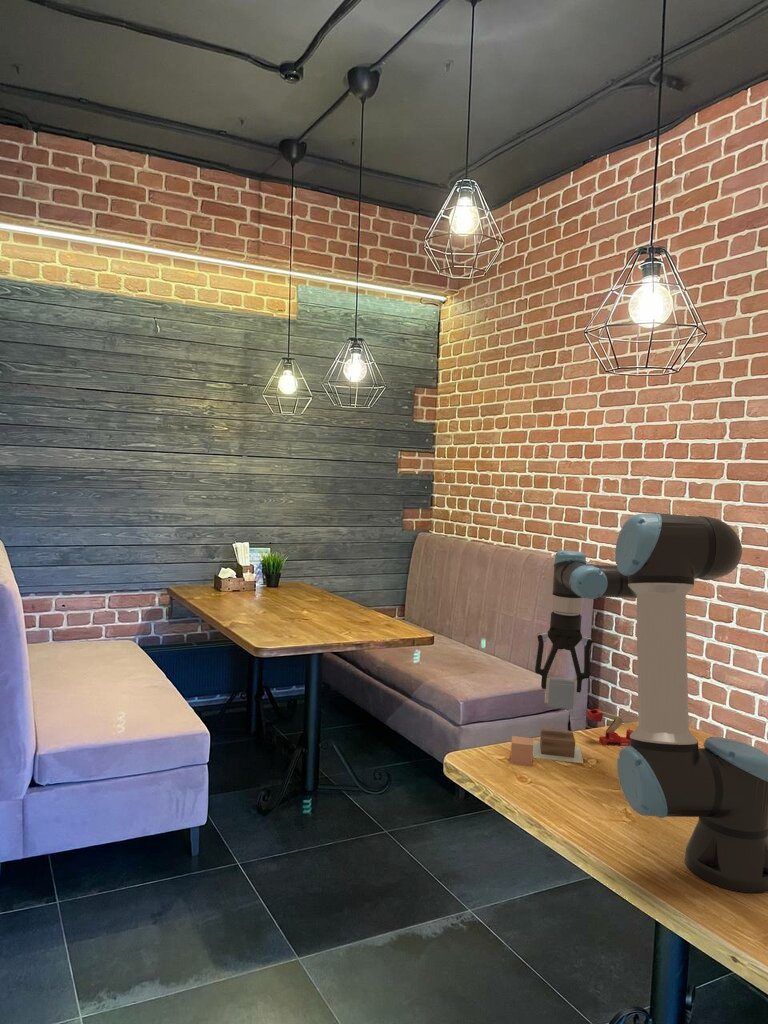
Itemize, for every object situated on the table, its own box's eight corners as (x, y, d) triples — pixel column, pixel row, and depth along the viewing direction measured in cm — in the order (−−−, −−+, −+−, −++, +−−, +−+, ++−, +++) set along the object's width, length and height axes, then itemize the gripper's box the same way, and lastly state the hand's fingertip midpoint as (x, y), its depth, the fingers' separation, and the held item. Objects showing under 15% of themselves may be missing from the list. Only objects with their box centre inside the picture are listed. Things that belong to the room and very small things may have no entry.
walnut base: (574, 757, 187) (575, 741, 187) (541, 753, 188) (542, 738, 188) (571, 746, 195) (572, 731, 195) (540, 742, 196) (541, 727, 196)
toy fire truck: (640, 750, 198) (643, 714, 197) (589, 748, 197) (591, 712, 196) (635, 745, 201) (638, 710, 201) (584, 744, 200) (587, 708, 200)
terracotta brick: (531, 770, 180) (533, 745, 180) (510, 767, 181) (511, 742, 181) (531, 762, 185) (532, 738, 185) (510, 759, 186) (512, 735, 186)
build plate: (583, 767, 184) (583, 763, 184) (533, 761, 186) (533, 757, 186) (579, 749, 196) (579, 746, 196) (531, 744, 198) (532, 740, 197)
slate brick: (572, 709, 188) (574, 685, 187) (548, 706, 189) (549, 683, 188) (571, 702, 194) (572, 679, 193) (547, 699, 195) (548, 676, 194)
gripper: (603, 613, 192) (597, 702, 193) (527, 606, 195) (521, 694, 196) (607, 618, 184) (600, 711, 186) (528, 611, 188) (521, 703, 189)
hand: (559, 702), depth 191 cm, fingers closed on slate brick, 6 cm apart
